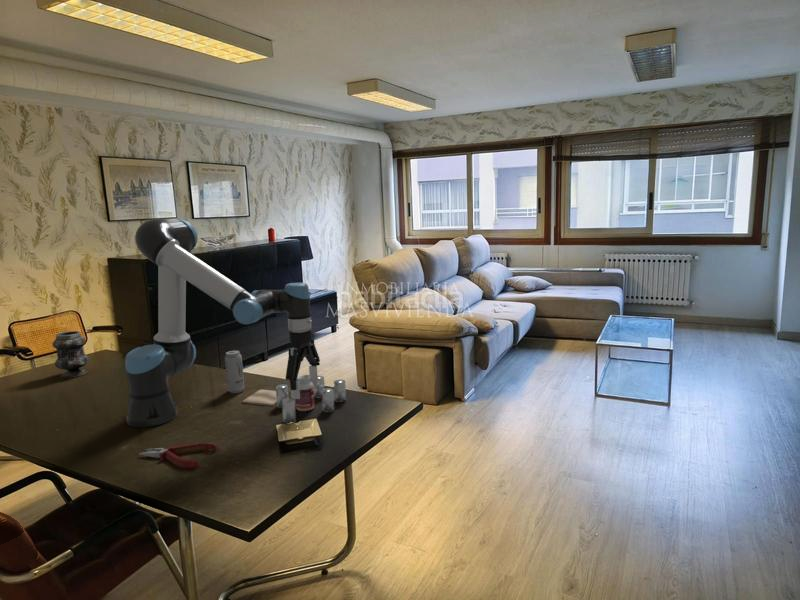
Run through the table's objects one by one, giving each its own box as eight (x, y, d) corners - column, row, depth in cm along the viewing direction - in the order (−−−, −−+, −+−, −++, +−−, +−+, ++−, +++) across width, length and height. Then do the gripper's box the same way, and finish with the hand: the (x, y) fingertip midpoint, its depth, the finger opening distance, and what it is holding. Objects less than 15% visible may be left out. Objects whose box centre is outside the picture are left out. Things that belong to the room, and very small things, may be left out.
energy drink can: (240, 394, 190) (236, 354, 187) (224, 393, 191) (221, 354, 188) (247, 388, 196) (244, 350, 193) (232, 387, 197) (229, 349, 194)
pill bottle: (316, 409, 174) (314, 378, 172) (297, 412, 172) (295, 381, 170) (312, 403, 179) (310, 373, 177) (294, 406, 177) (292, 375, 175)
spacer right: (331, 413, 171) (330, 393, 169) (320, 412, 172) (319, 392, 170) (336, 408, 174) (335, 388, 173) (325, 407, 176) (324, 387, 174)
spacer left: (285, 408, 176) (284, 389, 174) (274, 407, 177) (273, 388, 175) (291, 404, 179) (289, 384, 178) (280, 403, 180) (279, 384, 179)
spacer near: (292, 424, 163) (290, 403, 161) (281, 423, 164) (279, 402, 163) (298, 419, 167) (297, 398, 165) (287, 418, 168) (285, 397, 166)
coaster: (272, 406, 178) (272, 404, 178) (242, 403, 181) (241, 401, 181) (289, 393, 189) (289, 391, 189) (260, 390, 193) (260, 389, 193)
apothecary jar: (96, 369, 224) (90, 328, 221) (81, 378, 212) (74, 336, 209) (67, 370, 223) (60, 330, 220) (50, 379, 212) (43, 337, 208)
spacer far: (322, 398, 183) (321, 379, 182) (311, 397, 185) (310, 379, 183) (326, 394, 187) (325, 376, 186) (316, 393, 188) (315, 375, 187)
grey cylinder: (343, 403, 179) (342, 383, 178) (332, 402, 180) (331, 382, 179) (347, 398, 183) (347, 379, 181) (337, 397, 184) (336, 379, 183)
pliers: (155, 446, 152) (154, 438, 151) (218, 450, 148) (218, 442, 147) (128, 466, 140) (127, 457, 140) (196, 471, 137) (195, 462, 136)
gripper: (292, 340, 158) (298, 406, 162) (326, 321, 181) (330, 379, 185) (270, 339, 160) (276, 404, 164) (307, 320, 183) (311, 378, 187)
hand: (305, 391), depth 174 cm, fingers open, 13 cm apart
